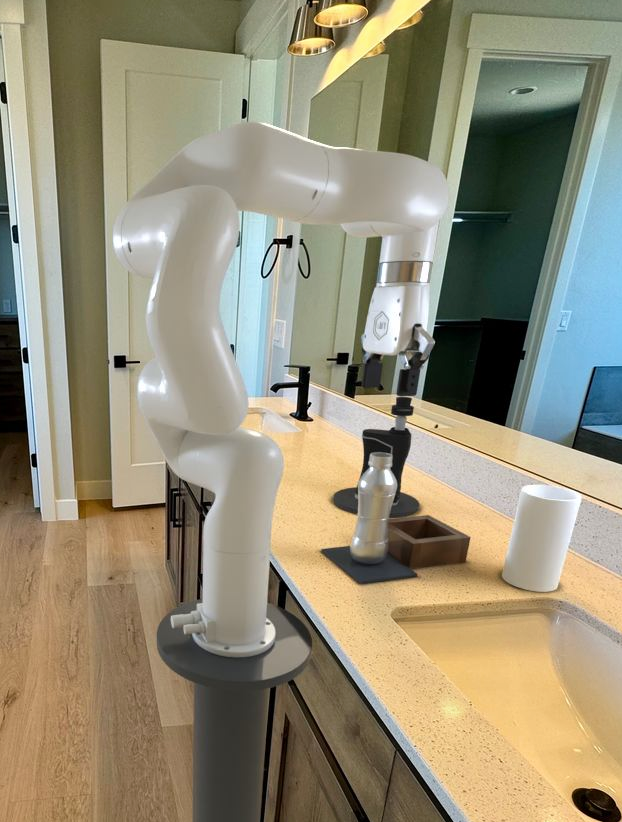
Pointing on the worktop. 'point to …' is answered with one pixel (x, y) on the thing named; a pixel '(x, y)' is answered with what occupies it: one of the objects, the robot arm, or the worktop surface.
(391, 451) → the vape
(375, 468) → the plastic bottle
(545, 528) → the cup
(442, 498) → the worktop surface
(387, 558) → the mat
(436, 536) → the brown wooden box
